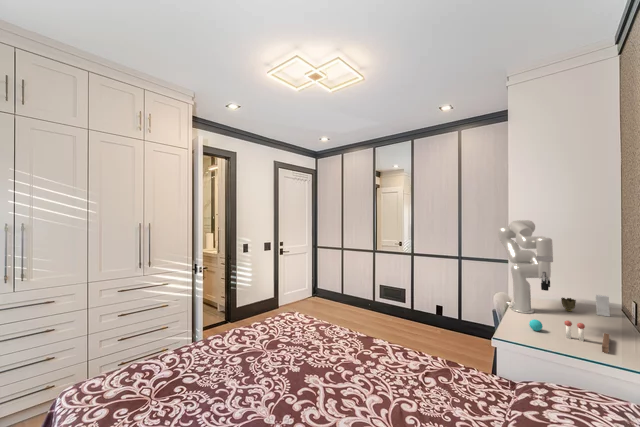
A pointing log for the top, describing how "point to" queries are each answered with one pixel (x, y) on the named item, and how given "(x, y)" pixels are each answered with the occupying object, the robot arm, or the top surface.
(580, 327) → the pin
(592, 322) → the top surface
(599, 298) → the skincare box
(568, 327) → the pin
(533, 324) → the ball
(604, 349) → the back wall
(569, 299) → the cup
